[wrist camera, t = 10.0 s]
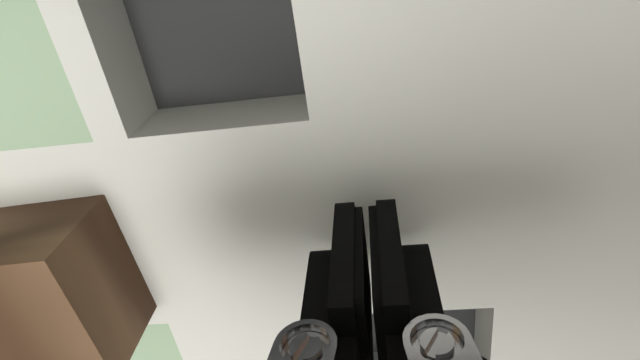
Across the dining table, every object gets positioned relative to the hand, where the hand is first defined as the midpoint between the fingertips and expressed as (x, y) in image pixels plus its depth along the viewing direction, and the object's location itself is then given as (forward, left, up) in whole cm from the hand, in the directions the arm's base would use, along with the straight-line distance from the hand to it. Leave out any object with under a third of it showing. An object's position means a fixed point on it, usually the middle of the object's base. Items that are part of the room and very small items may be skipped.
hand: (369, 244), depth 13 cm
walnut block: (+10, 0, -1) cm, 10 cm away
